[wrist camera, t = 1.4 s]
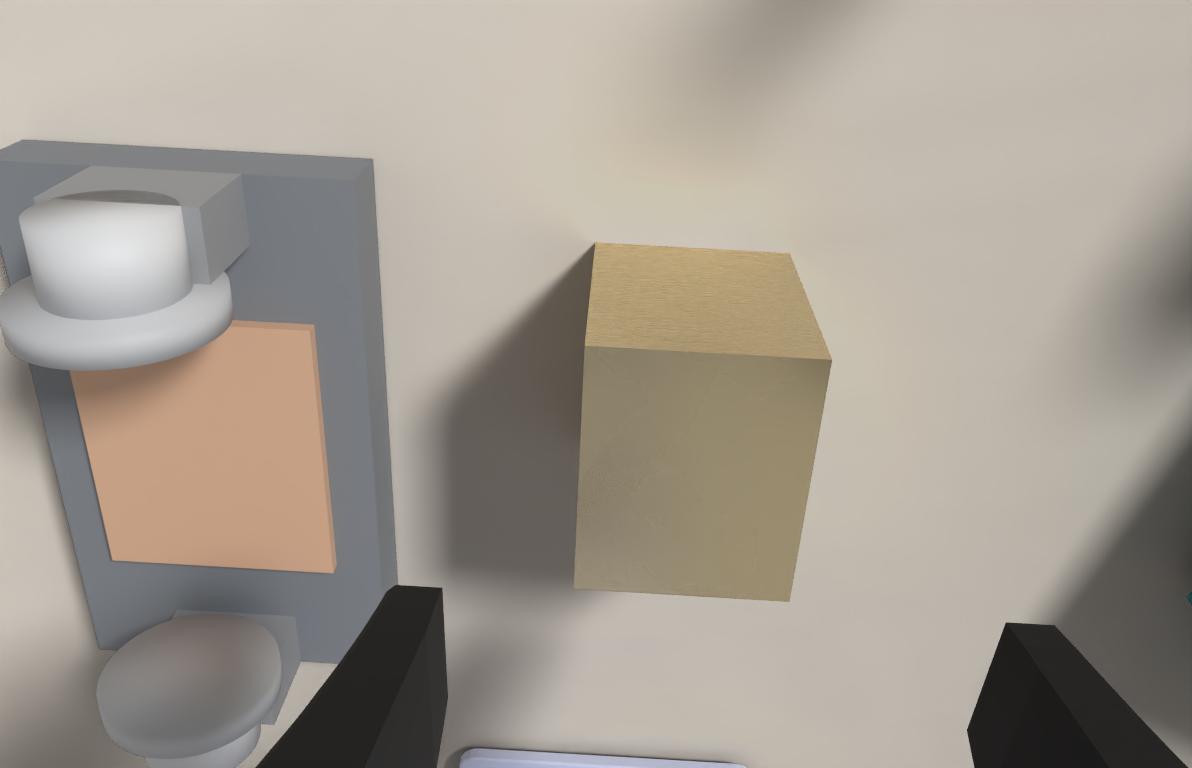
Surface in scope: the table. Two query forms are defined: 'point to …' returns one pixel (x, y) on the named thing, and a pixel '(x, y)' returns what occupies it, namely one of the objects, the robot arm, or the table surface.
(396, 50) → the table surface
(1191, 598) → the teal l-shaped bracket
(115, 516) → the stand
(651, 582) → the coupling block
